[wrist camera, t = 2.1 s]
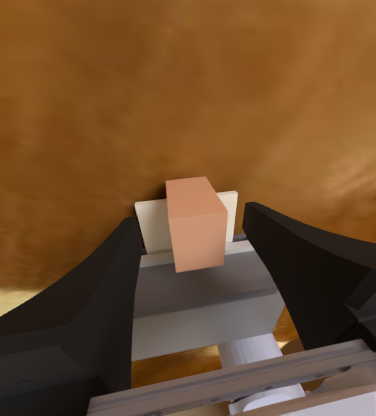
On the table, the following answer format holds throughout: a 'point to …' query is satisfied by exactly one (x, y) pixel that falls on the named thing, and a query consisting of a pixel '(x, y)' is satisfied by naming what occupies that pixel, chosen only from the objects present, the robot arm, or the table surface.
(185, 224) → the peach block on base
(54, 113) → the table surface
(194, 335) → the dispenser
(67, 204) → the table surface
